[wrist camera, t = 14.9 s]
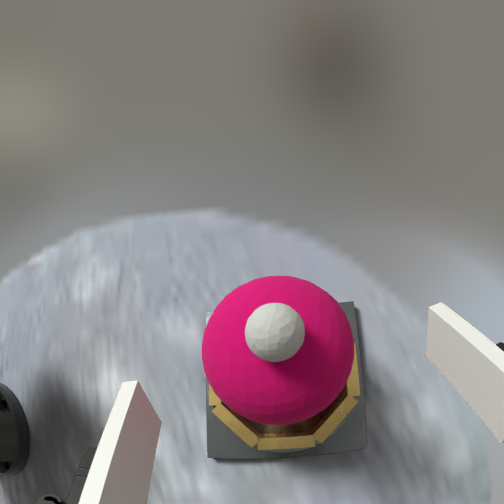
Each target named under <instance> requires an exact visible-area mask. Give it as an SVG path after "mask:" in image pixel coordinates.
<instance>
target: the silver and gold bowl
mask: <svg viewBox="0 0 504 504" xmlns="http://www.w3.org/2000/svg"><path fill="white" fill-rule="evenodd" d="M338 304H339V305H340V307H341V308H342V309H343V311H344V312H345V314H346V317H347V319H348V321H349V324H350V326H351V330H352V334H353V338H354V360H353V365H352V369H351V373H350V375H349V378H348V380H347V382H346V384H345V386H344V388H343V389H342V391H341V392H340V393H339V395H338V396H337V397H336V398H335V400H334V401H333V402H332V403H331V404H330V405H329V406H328V407H326V408H325V409H324V410H322V411H321V412H319V413H318V414H316V415H314V416H312V417H310V418H308V419H305V420H303V421H299V422H295V423H291V424H286V425H271V424H263V423H258V422H254V421H252V420H249V419H247V418H244V417H242V416H241V415H239V414H237V413H236V412H234V411H233V410H231V409H230V408H229V407H228V406H227V405H225V404H224V403H223V402H222V401H221V400H220V399H219V397H218V396H217V395H216V394H215V392H214V391H213V389H212V387H211V386H210V384H209V382H208V379H207V377H206V413H207V452H208V458H228V459H261V458H286V457H300V456H311V455H321V454H330V453H337V452H344V451H351V450H357V449H363V448H367V433H366V415H365V401H364V388H363V377H362V367H361V357H360V348H359V340H358V332H357V324H356V317H355V310H354V303H353V301H352V302H342V303H338ZM212 314H213V312H207V315H206V326H207V323H208V321H209V319H210V317H211V315H212Z"/></svg>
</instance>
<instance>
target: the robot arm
mask: <svg viewBox="0 0 504 504" xmlns="http://www.w3.org/2000/svg"><path fill="white" fill-rule="evenodd" d="M428 310H429V311H428V329H427V343H426V354H425V355H426V356H427V357H428V359H429V360H430V361H431V362H432V363H433V364H434V365H435V366H436V367H437V368H438V370H439V371H440V372H441V373H442V374H443V375H444V376H445V377H446V379H447V380H448V381H449V382H450V383H451V384H452V385H453V387H454V388H455V389H456V390H457V391H458V392H459V393H460V395H461V396H462V397H463V398H464V399H465V400H466V401H467V403H468V404H469V405H470V406H471V407H472V409H473V410H474V411H475V412H476V413H477V414H478V416H479V417H480V418H481V419H482V420H483V422H484V423H485V424H486V425H487V426H488V428H489V429H490V430H491V431H492V433H493V434H494V435H495V436H496V437H497V439H498V440H499V441H500V442H501V444H502V443H503V442H504V343H501V342H500V343H498V344H496V345H495V344H494V343H493V342H491V341H490V340H489V339H488V338H487V337H485V336H484V335H483V334H481V333H480V332H479V331H478V330H476V329H475V328H474V327H473V326H472V325H470V324H469V323H468V322H466V321H465V320H464V319H463V318H461V317H460V316H459V315H457V314H456V313H455V312H454V311H452V310H451V309H450V308H448V307H447V306H446V305H444V304H443V303H438V304H436V305H433V306H431V307H429V308H428ZM160 427H161V420H160V419H159V417H158V415H157V414H156V412H155V410H154V409H153V407H152V405H151V403H150V402H149V400H148V398H147V396H146V394H145V393H144V391H143V389H142V387H141V385H140V383H139V381H138V380H136V381H128V382H123V383H122V386H121V388H120V391H119V393H118V396H117V398H116V401H115V403H114V406H113V408H112V411H111V413H110V416H109V418H108V421H107V424H106V426H105V429H104V432H103V434H102V437H101V440H100V442H99V445H98V448H90V449H89V450H88V451H87V452H86V454H85V455H84V456H83V457H82V460H81V463H80V465H79V469H78V471H77V473H76V477H75V479H74V482H73V484H72V487H71V490H70V493H69V496H68V499H67V501H66V502H64V501H63V500H62V499H61V498H60V497H59V496H57V495H55V494H45V495H42V496H41V497H40V498H38V500H37V501H36V502H35V504H146V503H147V497H148V491H149V485H150V480H151V474H152V468H153V463H154V458H155V453H156V447H157V442H158V437H159V432H160ZM28 452H29V435H28V428H27V423H26V419H25V416H24V413H23V410H22V408H21V406H20V404H19V402H18V400H17V398H16V396H15V395H14V394H13V392H12V391H11V390H10V389H9V388H8V387H7V386H5V385H4V384H2V383H0V475H13V474H17V473H19V472H20V471H21V470H22V469H23V468H24V466H25V464H26V461H27V458H28Z"/></svg>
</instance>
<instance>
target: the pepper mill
mask: <svg viewBox="0 0 504 504" xmlns="http://www.w3.org/2000/svg"><path fill="white" fill-rule="evenodd" d="M202 360H203V365H204V371H205V374H206V377H207V379H208V382H209V384H210V386H211V387H212V389H213V391H214V392H215V394H216V395H217V396H218V397H219V399H220V400H221V401H222V402H223V403H224V404H225V405H227V406H228V407H229V408H230V409H231V410H233V411H234V412H236V413H237V414H239V415H241V416H242V417H244V418H247V419H249V420H252V421H254V422H258V423H263V424H271V425H286V424H291V423H295V422H299V421H303V420H305V419H308V418H310V417H312V416H314V415H316V414H318V413H319V412H321V411H322V410H324V409H325V408H326V407H328V406H329V405H330V404H331V403H332V402H333V401H334V400H335V398H336V397H337V396H338V395H339V393H340V392H341V391H342V389H343V388H344V386H345V384H346V382H347V380H348V378H349V375H350V373H351V369H352V365H353V360H354V338H353V334H352V330H351V326H350V324H349V321H348V319H347V317H346V314H345V312H344V311H343V309H342V308H341V307H340V305H339V304H338V302H337V301H336V300H335V299H334V298H333V297H332V296H330V295H329V294H328V293H327V292H326V291H324V290H323V289H321V288H320V287H318V286H316V285H315V284H313V283H311V282H308V281H306V280H303V279H299V278H295V277H290V276H269V277H263V278H259V279H254V280H252V281H250V282H248V283H246V284H243V285H241V286H239V287H237V288H236V289H235V290H233V291H232V292H231V293H229V294H228V295H227V296H226V297H225V298H224V299H223V300H222V301H221V302H220V303H219V304H218V306H217V307H216V309H215V310H214V312H213V314H212V315H211V317H210V319H209V321H208V323H207V326H206V328H205V331H204V336H203V342H202Z"/></svg>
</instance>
